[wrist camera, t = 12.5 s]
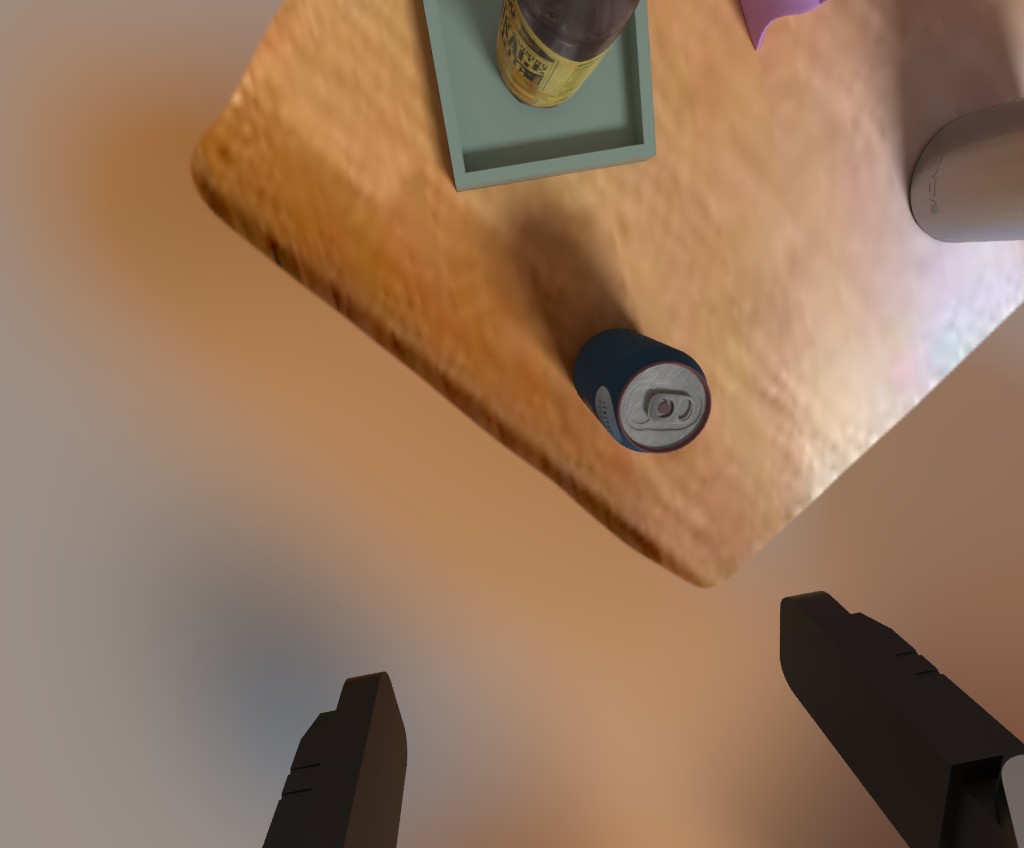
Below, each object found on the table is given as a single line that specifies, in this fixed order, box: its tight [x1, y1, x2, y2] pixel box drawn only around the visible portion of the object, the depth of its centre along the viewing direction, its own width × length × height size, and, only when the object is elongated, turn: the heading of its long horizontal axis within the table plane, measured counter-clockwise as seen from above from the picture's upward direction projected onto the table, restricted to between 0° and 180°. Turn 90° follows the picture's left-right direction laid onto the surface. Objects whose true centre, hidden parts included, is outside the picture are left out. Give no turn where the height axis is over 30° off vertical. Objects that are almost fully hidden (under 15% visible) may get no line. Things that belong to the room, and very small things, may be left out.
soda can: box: [573, 329, 711, 453], centre depth 36 cm, size 7×7×12 cm
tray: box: [423, 0, 656, 192], centre depth 34 cm, size 14×14×2 cm
